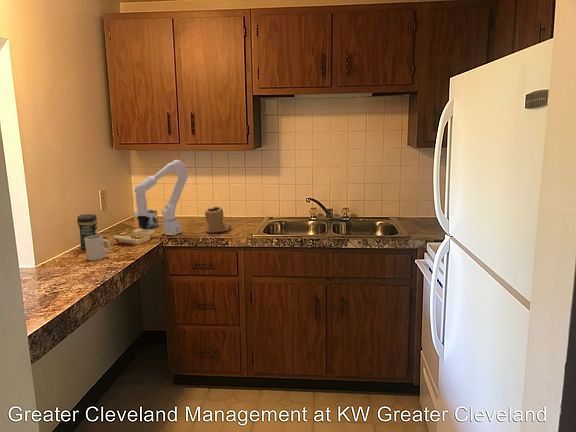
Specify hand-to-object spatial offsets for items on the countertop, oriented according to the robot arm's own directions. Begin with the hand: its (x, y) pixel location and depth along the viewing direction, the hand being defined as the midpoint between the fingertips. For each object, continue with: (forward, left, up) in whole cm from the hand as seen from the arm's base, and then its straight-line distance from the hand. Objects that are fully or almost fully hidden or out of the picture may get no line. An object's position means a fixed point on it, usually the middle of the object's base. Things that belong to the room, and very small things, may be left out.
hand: (144, 228), depth 263 cm
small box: (+15, -17, -6) cm, 23 cm away
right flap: (0, +1, -1) cm, 1 cm away
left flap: (0, +15, -1) cm, 15 cm away
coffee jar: (+13, +27, -5) cm, 30 cm away
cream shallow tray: (0, +8, -5) cm, 10 cm away
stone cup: (-33, -26, -6) cm, 42 cm away
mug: (-7, +37, -5) cm, 38 cm away
